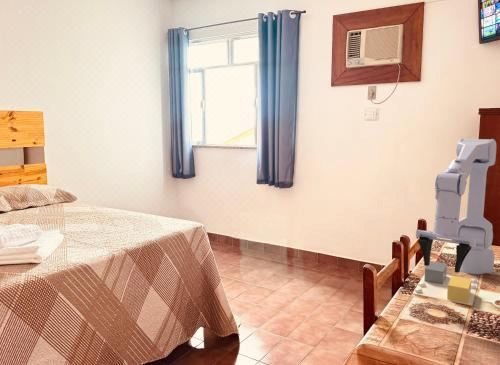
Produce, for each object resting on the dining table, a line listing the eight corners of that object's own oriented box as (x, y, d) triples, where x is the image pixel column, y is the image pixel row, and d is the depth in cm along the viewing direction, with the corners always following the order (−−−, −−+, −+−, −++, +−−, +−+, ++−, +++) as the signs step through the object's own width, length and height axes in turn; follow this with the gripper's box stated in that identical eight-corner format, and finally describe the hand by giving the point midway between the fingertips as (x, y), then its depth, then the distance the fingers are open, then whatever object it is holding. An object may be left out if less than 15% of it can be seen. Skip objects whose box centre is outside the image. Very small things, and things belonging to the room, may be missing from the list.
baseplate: (425, 274, 131) (426, 269, 131) (478, 283, 123) (478, 278, 123) (412, 296, 115) (412, 290, 114) (472, 309, 107) (472, 302, 106)
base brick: (429, 272, 130) (429, 261, 129) (446, 275, 127) (447, 263, 126) (424, 281, 123) (425, 268, 122) (442, 284, 120) (443, 271, 120)
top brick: (451, 288, 117) (451, 275, 117) (470, 292, 114) (471, 279, 114) (447, 298, 111) (447, 285, 110) (467, 303, 108) (468, 288, 107)
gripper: (413, 214, 109) (408, 264, 109) (473, 222, 99) (467, 277, 99) (422, 214, 114) (417, 261, 114) (480, 221, 104) (474, 273, 104)
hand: (441, 268), depth 107 cm, fingers open, 7 cm apart
